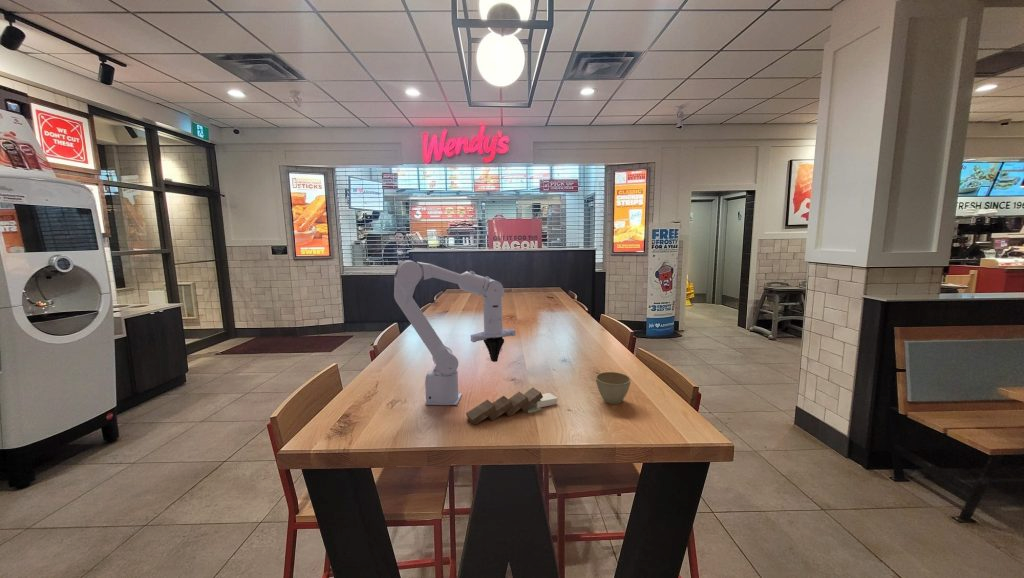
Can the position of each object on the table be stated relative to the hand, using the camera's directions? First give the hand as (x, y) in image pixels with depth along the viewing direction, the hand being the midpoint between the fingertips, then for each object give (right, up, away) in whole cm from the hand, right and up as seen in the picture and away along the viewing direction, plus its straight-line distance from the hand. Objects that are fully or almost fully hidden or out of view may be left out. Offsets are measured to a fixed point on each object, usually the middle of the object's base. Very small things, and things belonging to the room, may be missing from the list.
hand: (494, 360), depth 121 cm
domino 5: (+12, -10, -9) cm, 18 cm away
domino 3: (+3, -12, -14) cm, 18 cm away
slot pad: (+11, -12, -10) cm, 18 cm away
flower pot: (+36, -11, -6) cm, 38 cm away
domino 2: (-1, -12, -16) cm, 20 cm away
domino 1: (-6, -12, -18) cm, 23 cm away
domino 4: (+8, -11, -11) cm, 18 cm away
